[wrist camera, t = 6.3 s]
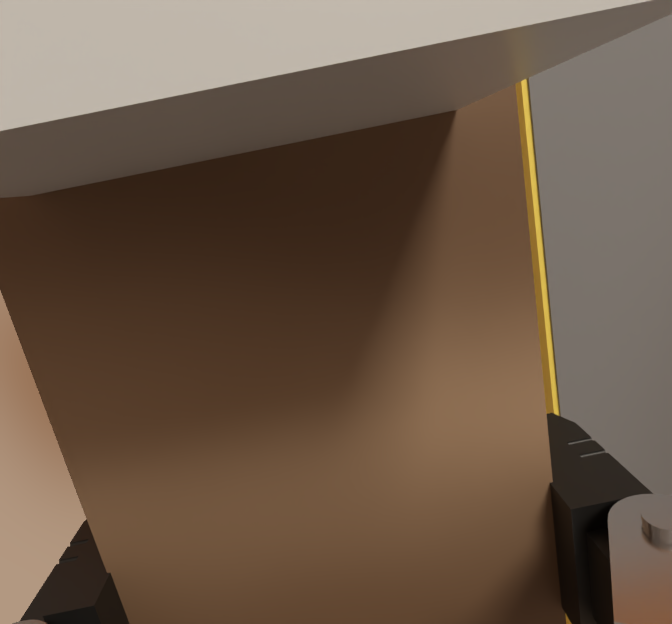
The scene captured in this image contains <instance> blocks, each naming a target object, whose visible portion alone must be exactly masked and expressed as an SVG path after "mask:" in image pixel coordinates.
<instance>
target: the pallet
mask: <svg viewBox="0 0 672 624" xmlns="http://www.w3.org/2000/svg"><path fill="white" fill-rule="evenodd" d="M0 290H1V293H2V295H3V298H4V300H5V303H6V306H7V308H8V311H9V314H10V316H11V319H12V322H13V324H14V327H15V330H16V332H17V335H18V337H19V340H20V343H21V345H22V348H23V351H24V354H25V356H26V359H27V362H28V364H29V367H30V370H31V372H32V375H33V377H34V380H35V383H36V385H37V388H38V391H39V394H40V396H41V399H42V402H43V404H44V407H45V409H46V411H47V415H48V417H49V420H50V423H51V425H52V428H53V431H54V433H55V436H56V438H57V441H58V444H59V447H60V449H61V452H62V455H63V457H64V460H65V463H66V465H67V468H68V471H69V473H70V476H71V479H72V481H73V484H74V487H75V489H76V492H77V495H78V497H79V499H80V502H81V505H82V508H83V510H84V513H85V515H86V518H87V521H88V524H89V526H90V529H91V532H92V534H93V537H94V540H95V542H96V545H97V548H98V550H99V553H100V556H101V558H102V561H103V564H104V566H105V569H106V572H107V573H111V575H112V578H113V581H114V583H115V586H116V589H117V591H118V594H119V597H120V599H121V602H122V605H123V607H124V610H125V613H126V615H127V618H128V621H129V623H130V624H566V616H565V612H564V610H563V608H562V605H561V595H560V584H559V574H558V563H557V553H556V543H555V532H554V522H553V511H552V501H551V490H550V483H551V482H553V478H552V467H551V456H550V446H549V435H548V425H547V414H546V403H545V393H544V382H543V371H542V361H541V350H540V340H539V329H538V318H537V308H536V297H535V286H534V276H533V265H532V254H531V244H530V233H529V223H528V212H527V201H526V191H525V180H524V169H523V159H522V148H521V137H520V127H519V116H518V106H517V95H516V84H514V85H511V86H509V87H507V88H505V89H502V90H500V91H498V92H496V93H494V94H491V95H489V96H487V97H485V98H482V99H480V100H478V101H476V102H473V103H471V104H469V105H467V106H465V107H462V108H460V109H458V110H454V111H449V112H444V113H439V114H434V115H429V116H424V117H419V118H414V119H409V120H404V121H399V122H394V123H389V124H385V125H380V126H375V127H370V128H365V129H360V130H355V131H350V132H345V133H340V134H335V135H330V136H325V137H320V138H315V139H310V140H305V141H300V142H295V143H290V144H285V145H280V146H275V147H270V148H265V149H260V150H255V151H250V152H245V153H240V154H235V155H230V156H225V157H220V158H215V159H211V160H206V161H201V162H196V163H191V164H186V165H181V166H176V167H171V168H166V169H161V170H156V171H151V172H146V173H141V174H136V175H131V176H126V177H121V178H116V179H111V180H106V181H101V182H96V183H91V184H86V185H81V186H76V187H71V188H66V189H61V190H56V191H51V192H46V193H41V194H37V195H32V196H21V197H6V198H0Z"/></svg>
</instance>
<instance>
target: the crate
mask: <svg viewBox="0 0 672 624" xmlns="http://www.w3.org/2000/svg"><path fill="white" fill-rule="evenodd" d="M670 14H672V0H0V198H6V197H21V196H32V195H37V194H41V193H46V192H51V191H56V190H61V189H66V188H71V187H76V186H81V185H86V184H91V183H96V182H101V181H106V180H111V179H116V178H121V177H126V176H131V175H136V174H141V173H146V172H151V171H156V170H161V169H166V168H171V167H176V166H181V165H186V164H191V163H196V162H201V161H206V160H211V159H215V158H220V157H225V156H230V155H235V154H240V153H245V152H250V151H255V150H260V149H265V148H270V147H275V146H280V145H285V144H290V143H295V142H300V141H305V140H310V139H315V138H320V137H325V136H330V135H335V134H340V133H345V132H350V131H355V130H360V129H365V128H370V127H375V126H380V125H385V124H389V123H394V122H399V121H404V120H409V119H414V118H419V117H424V116H429V115H434V114H439V113H444V112H449V111H454V110H458V109H460V108H462V107H465V106H467V105H469V104H471V103H473V102H476V101H478V100H480V99H482V98H485V97H487V96H489V95H491V94H494V93H496V92H498V91H500V90H502V89H505V88H507V87H509V86H511V85H514V84H516V83H518V82H520V81H523V80H525V79H527V78H529V77H532V76H534V75H536V74H538V73H540V72H543V71H545V70H547V69H549V68H552V67H554V66H556V65H558V64H561V63H563V62H565V61H567V60H570V59H572V58H574V57H576V56H578V55H581V54H583V53H585V52H587V51H590V50H592V49H594V48H596V47H599V46H601V45H603V44H605V43H608V42H610V41H612V40H614V39H616V38H619V37H621V36H623V35H625V34H628V33H630V32H632V31H634V30H637V29H639V28H641V27H643V26H645V25H648V24H650V23H652V22H654V21H657V20H659V19H661V18H663V17H666V16H668V15H670Z"/></svg>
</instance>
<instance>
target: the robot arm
mask: <svg viewBox="0 0 672 624" xmlns="http://www.w3.org/2000/svg"><path fill="white" fill-rule="evenodd" d="M547 425H548V435H549V446H550V456H551V467H552V478H553V482H551V483H550V490H551V501H552V511H553V522H554V532H555V543H556V553H557V563H558V574H559V584H560V595H561V605H562V608H563V610H564V612H565V614H566V615H567V617H568V619H569V620H570V622H571V624H672V496H670V495H662V494H653V493H652V492H651V491H650V490H649V489H648V488H646V487H645V486H644V485H643V484H642V483H641V482H640V481H639V480H638V479H637V478H636V477H634V476H633V475H632V474H631V473H630V472H629V471H628V470H627V469H626V468H625V467H623V466H622V465H621V464H620V463H619V462H618V461H617V460H616V459H615V458H614V457H613V456H611V455H610V454H609V453H606V452H605V449H604V448H603V447H602V446H600V445H599V444H598V443H597V442H596V441H595V440H592V438H591V436H590V435H588V434H587V433H586V432H585V431H584V430H583V429H582V428H581V427H580V426H579V425H577V424H576V423H575V422H573V421H570V420H568V419H565V418H563V417H561V416H558V415H556V414H554V413H548V414H547ZM13 624H130V623H129V621H128V618H127V615H126V613H125V610H124V607H123V605H122V602H121V599H120V597H119V594H118V591H117V589H116V586H115V583H114V581H113V578H112V575H111V573H107V572H106V569H105V566H104V564H103V561H102V558H101V556H100V553H99V550H98V548H97V545H96V542H95V540H94V537H93V534H92V532H91V529H90V526H89V524H88V521H87V520H86V521H84V522H83V524H82V525H81V527H80V529H79V530H78V531H77V533H76V535H75V536H74V538H73V539H72V541H71V542H70V547H67V549H66V550H65V552H64V554H63V555H62V556H61V558H60V559H59V564H57V565H56V566H55V567H54V569H53V570H52V572H51V574H50V575H49V577H48V578H47V580H46V581H45V583H44V584H43V586H42V587H41V589H40V590H39V592H38V594H37V595H36V597H35V598H34V600H33V601H32V603H31V604H30V606H29V608H28V609H27V611H26V612H25V614H24V615H23V617H22V618H21V620H20V621H19V622H16V623H13Z"/></svg>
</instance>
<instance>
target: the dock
mask: <svg viewBox="0 0 672 624" xmlns="http://www.w3.org/2000/svg"><path fill="white" fill-rule="evenodd" d="M516 95H517V106H518V116H519V127H520V137H521V148H522V159H523V169H524V180H525V191H526V201H527V212H528V223H529V233H530V244H531V254H532V265H533V276H534V286H535V297H536V308H537V318H538V329H539V340H540V350H541V361H542V371H543V382H544V393H545V403H546V414H548V413H554V414H556V415H558V416H561V417H563V418H565V419H568V420H570V421H573V422H575V423H576V424H577V425H579V426H580V427H581V428H582V429H583V430H584V431H585V432H586V433H587V434H588V435H590V436H591V438H592V440H595V441H596V442H597V443H598V444H599V445H600V446H602V447H603V448H604V449H605V452H606V453H609V454H610V455H611V456H613V457H614V458H615V459H616V460H617V461H618V462H619V463H620V464H621V465H622V466H623V467H625V468H626V469H627V470H628V471H629V472H630V473H631V474H632V475H633V476H634V477H636V478H637V479H638V480H639V481H640V482H641V483H642V484H643V485H644V486H645V487H646V488H648V489H649V490H650V491H651V492H652V493H653V494H662V495H670V496H672V14H670V15H668V16H666V17H663V18H661V19H659V20H657V21H654V22H652V23H650V24H648V25H645V26H643V27H641V28H639V29H637V30H634V31H632V32H630V33H628V34H625V35H623V36H621V37H619V38H616V39H614V40H612V41H610V42H608V43H605V44H603V45H601V46H599V47H596V48H594V49H592V50H590V51H587V52H585V53H583V54H581V55H578V56H576V57H574V58H572V59H570V60H567V61H565V62H563V63H561V64H558V65H556V66H554V67H552V68H549V69H547V70H545V71H543V72H540V73H538V74H536V75H534V76H532V77H529V78H527V79H525V80H523V81H520V82H518V83H516ZM565 616H566V624H571V622H570V620H569V619H568V617H567V615H566V614H565Z"/></svg>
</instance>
